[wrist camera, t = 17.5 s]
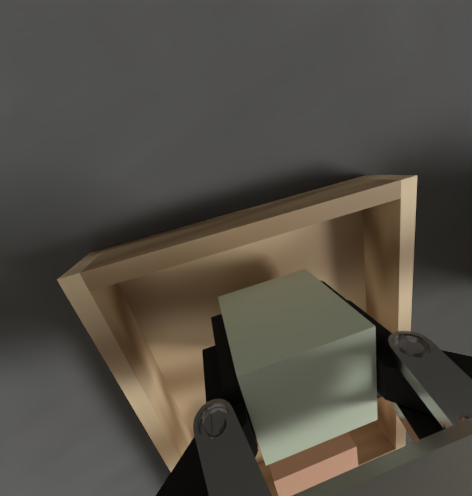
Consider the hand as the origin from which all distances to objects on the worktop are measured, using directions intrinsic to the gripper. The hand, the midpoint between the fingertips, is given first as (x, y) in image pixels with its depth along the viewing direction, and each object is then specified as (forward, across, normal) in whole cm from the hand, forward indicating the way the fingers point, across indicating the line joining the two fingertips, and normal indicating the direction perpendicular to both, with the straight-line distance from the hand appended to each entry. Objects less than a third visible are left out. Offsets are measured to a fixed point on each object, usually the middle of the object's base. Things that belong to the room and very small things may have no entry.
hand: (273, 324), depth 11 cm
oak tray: (+3, 0, +4) cm, 5 cm away
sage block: (0, 0, 0) cm, 0 cm away
